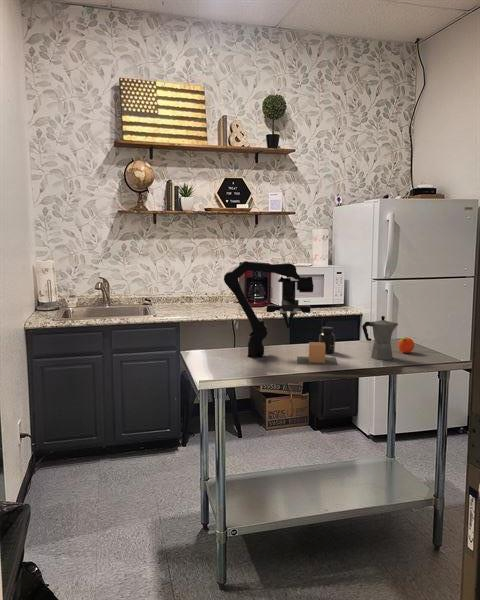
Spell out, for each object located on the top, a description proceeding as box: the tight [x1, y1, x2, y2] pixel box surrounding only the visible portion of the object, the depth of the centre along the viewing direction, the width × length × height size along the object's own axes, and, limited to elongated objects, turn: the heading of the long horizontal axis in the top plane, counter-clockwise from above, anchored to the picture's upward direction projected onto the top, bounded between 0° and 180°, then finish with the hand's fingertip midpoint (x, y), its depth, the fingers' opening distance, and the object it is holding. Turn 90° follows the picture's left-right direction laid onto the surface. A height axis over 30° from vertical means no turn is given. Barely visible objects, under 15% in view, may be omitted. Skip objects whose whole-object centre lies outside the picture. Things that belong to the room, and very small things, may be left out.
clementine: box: [397, 336, 415, 354], centre depth 229 cm, size 8×7×7 cm
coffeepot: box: [361, 315, 399, 361], centre depth 219 cm, size 15×9×18 cm, turn 93°
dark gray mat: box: [296, 355, 339, 366], centre depth 210 cm, size 16×14×1 cm
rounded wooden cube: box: [308, 341, 326, 363], centre depth 209 cm, size 6×6×7 cm
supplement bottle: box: [318, 326, 336, 355], centre depth 226 cm, size 7×7×12 cm
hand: (288, 328), depth 223 cm, fingers closed
